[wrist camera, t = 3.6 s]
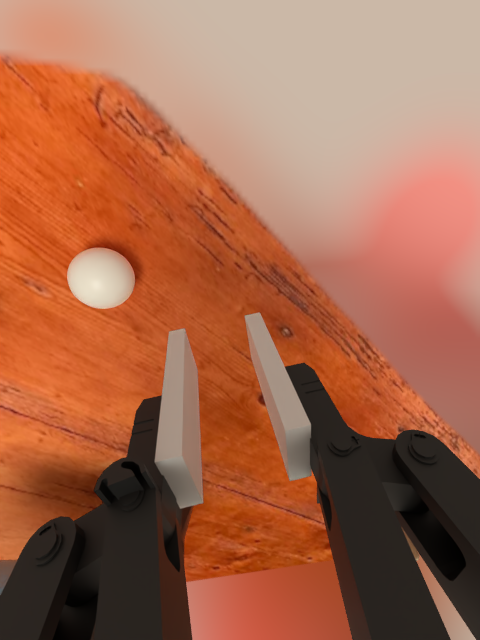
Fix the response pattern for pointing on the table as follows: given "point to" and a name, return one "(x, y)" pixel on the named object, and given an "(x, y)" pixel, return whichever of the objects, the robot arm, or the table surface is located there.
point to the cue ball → (101, 278)
